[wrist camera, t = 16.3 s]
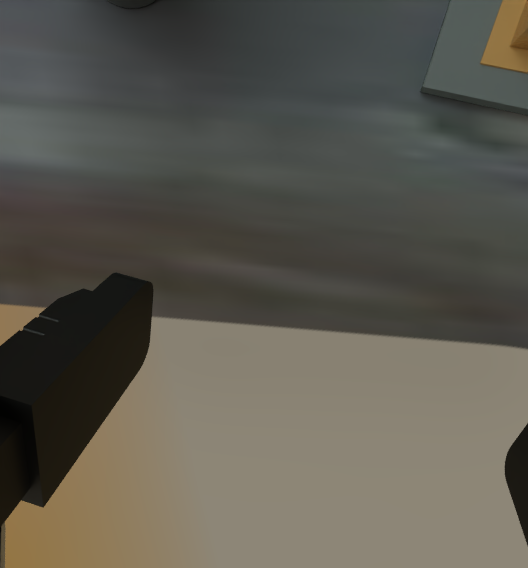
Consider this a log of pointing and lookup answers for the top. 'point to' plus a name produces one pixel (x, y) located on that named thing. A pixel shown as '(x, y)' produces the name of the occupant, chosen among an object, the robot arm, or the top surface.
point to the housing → (521, 31)
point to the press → (480, 56)
